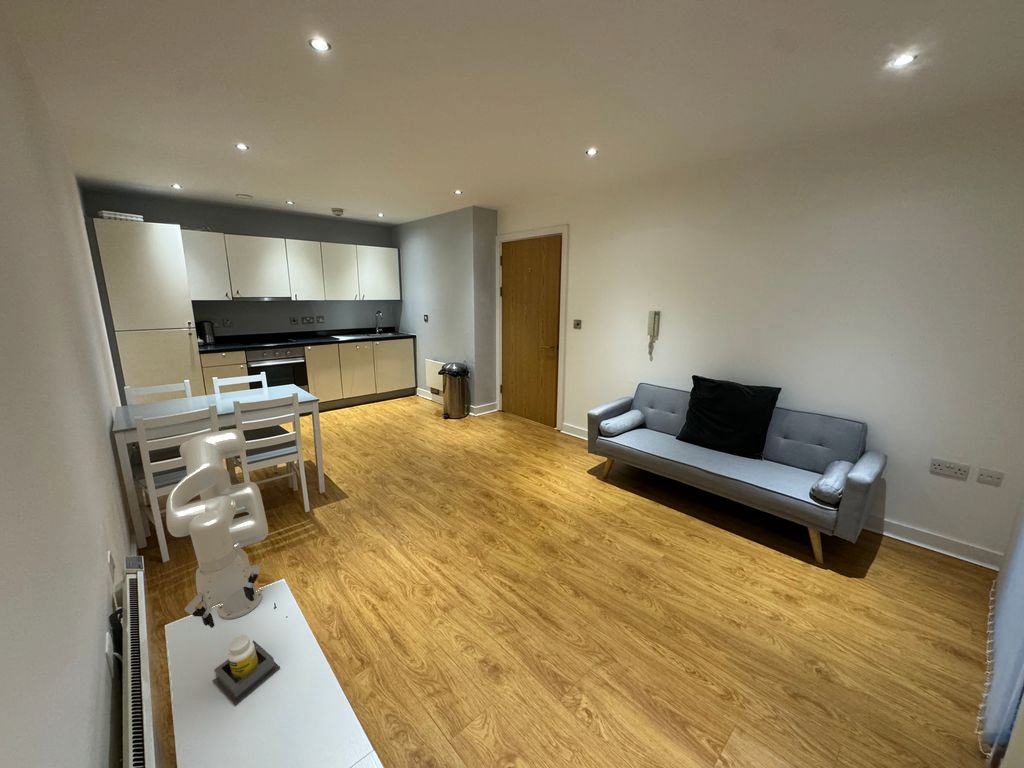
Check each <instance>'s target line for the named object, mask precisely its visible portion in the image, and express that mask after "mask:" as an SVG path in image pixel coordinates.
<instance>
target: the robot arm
mask: <svg viewBox="0 0 1024 768" xmlns="http://www.w3.org/2000/svg"><path fill="white" fill-rule="evenodd" d="M246 450H247V441H246V437H245V435H244V433H243V432H242V431H241V430H239V429H237V428H231V429H230V428H229V429H225V430H219V431H214V432H209V433H203V434H200V435H196V436H193V437H191V438H190V439H189V440H187V441H184V442H183V443H181V445H180V446H179V454H180V457H181V459H182V461H183V462H184V465H185V466H186V475H185V476H184V477H183V478H182V479H181V480H180V481H178V483H177V484H176V485H175V486H174V487H173V489H172V490H171V491H170V493H169V495H168V497H167V500H166V507H165V508H166V510H165V511H166V512H165V513H166V517H165V518H166V521H165V522H166V527H167V531H168V532H169V534H170V535H171V536H173V537H175V538H182V537H187V536H190V538H191V541H192V545H193V549H194V553H195V556H196V559H197V563H198V568H196V571H195V583H196V584H195V585H196V591H197V594H196V596H194V598H193V599H192V600H191V601H190V602H189V603H188V604H187V605H186V606H185V607H184V609H183V610H184V611H185V612H186V613H187V614H189V615H192V616H193V617H201V619H202V622H203V625H204V626H208V627H210V628H211V629H212V628H214V627H215V625H216V624H215V621H214V618H213V615H212V613H211V611H212V609H213V607H214V606H217V605H218V604H219V605H221V604H223V605H221V606H219V605H218V608H217V611H218V612H217V613H218V616H219V617H221V618H222V619H224V620H225V619H226V620H231V619H237V618H240V617H243V616H245V615H247V614H249V613H250V612H252V611H253V610H255V609H256V607H258V605H260V603H261V602H262V599H263V592H262V589H260V588H259V587H256V586H255V583H256V581H257V580H258V577H259V573H260V571H261V570H260V569H261V566H259V565H258V564H255V565H254V564H253V565H250V560H249V556H248V553H247V552H246V551H245V550H244V549H242V548H245V547H247V546H250V545H253V544H256V543H259V542H261V541H262V542H263V541H264V540H265V539H266V538H267V537H268V534H269V525H268V520H267V517H266V511H265V506H264V503H263V498H262V493H261V491H260V488H259V486H258V485H257V483H256V482H254V481H246V482H245V481H244V482H241V483H236V484H232V483H231V478H230V477H231V476H230V472H229V470H227V469H226V468H225V466H224V461H223V460H224V459H228V458H233V457H237V456H241V455H244V454H245V453H246ZM196 496H200V501H199V500H198V501H196V502H192V503H188V502H189V501H191V500H192V499H193V498H196ZM187 503H188V504H187ZM241 513H248V514H247V515H243V516H240V517H236V518H234V517H235V515H238V514H241ZM258 590H260V591H258ZM256 591H257V592H256ZM201 602H202V603H201ZM200 603H201V604H200ZM199 604H200V607H199V608H197V606H198V605H199Z"/></svg>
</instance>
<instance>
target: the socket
mask: <svg viewBox="0 0 1024 768" xmlns="http://www.w3.org/2000/svg"><path fill="white" fill-rule="evenodd" d="M251 641H252V642H253V643H254V646H255V650H256V654H257V658H258V662H259V665H258V666H257V667H256V668H255V669H253V670H252V671H251V672H250V673H248V674H247V675H246V676H245V677H243V678H242V679H241V680H240V681H238V682H236V681H235V680H234V678H233V675H232V671H231V667H230V664H229V660H228V659H226V660H225V661H224V662H222V663H220V664H219V665H218V666H217V667H216V668H214V673H215V678H214V679H212V680H211V681H212V683H213V684H214V685H215V686H216V688H218V690H219V691H220V692H221V693H222V694H223V695H224V696H225V697H226V699H228V701H229V702H230V703H232V705H233V706H234V707H237V706H238V705H239V704H240V703H242V701H243V700H244V699H246V698H248V697H249V695H251V694H253V692H255V690H256V689H258V688H259V687H260V686H261V685H264V683H265V682H266V681H268V679H270V678H271V677H273V675H274V674H276V673H278V671H280V670H281V666H280V665H278V663H276V661H275V658H274V657H273V656H272V655H271V654H270V653H269V652H267V651H266V650H265V649H264V648H263V647H262V646H261V645H260V644H259V643H257V642H256V641H255V640H251Z"/></svg>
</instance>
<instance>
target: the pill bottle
mask: <svg viewBox="0 0 1024 768" xmlns="http://www.w3.org/2000/svg"><path fill="white" fill-rule="evenodd" d="M252 641H253V640H250V636H248V635H244V634H243V635H239V636H237V637H235V638H234V639H233V640H232V641H230V643H229V645H228V650H229V652H228V655H227V660H229V664H230V667H231V671H232V675H233V678H234V680H235V681H236V682H238V681H240V680H241V679H242V678H243V677H245V676H246V675H247V674H248V673H250V672H251V671H252V670H253V669H255V668H256V667H257V666H258V665H259V662H258V658H257V654H256V650H255V646H254V643H253V642H252Z"/></svg>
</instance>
